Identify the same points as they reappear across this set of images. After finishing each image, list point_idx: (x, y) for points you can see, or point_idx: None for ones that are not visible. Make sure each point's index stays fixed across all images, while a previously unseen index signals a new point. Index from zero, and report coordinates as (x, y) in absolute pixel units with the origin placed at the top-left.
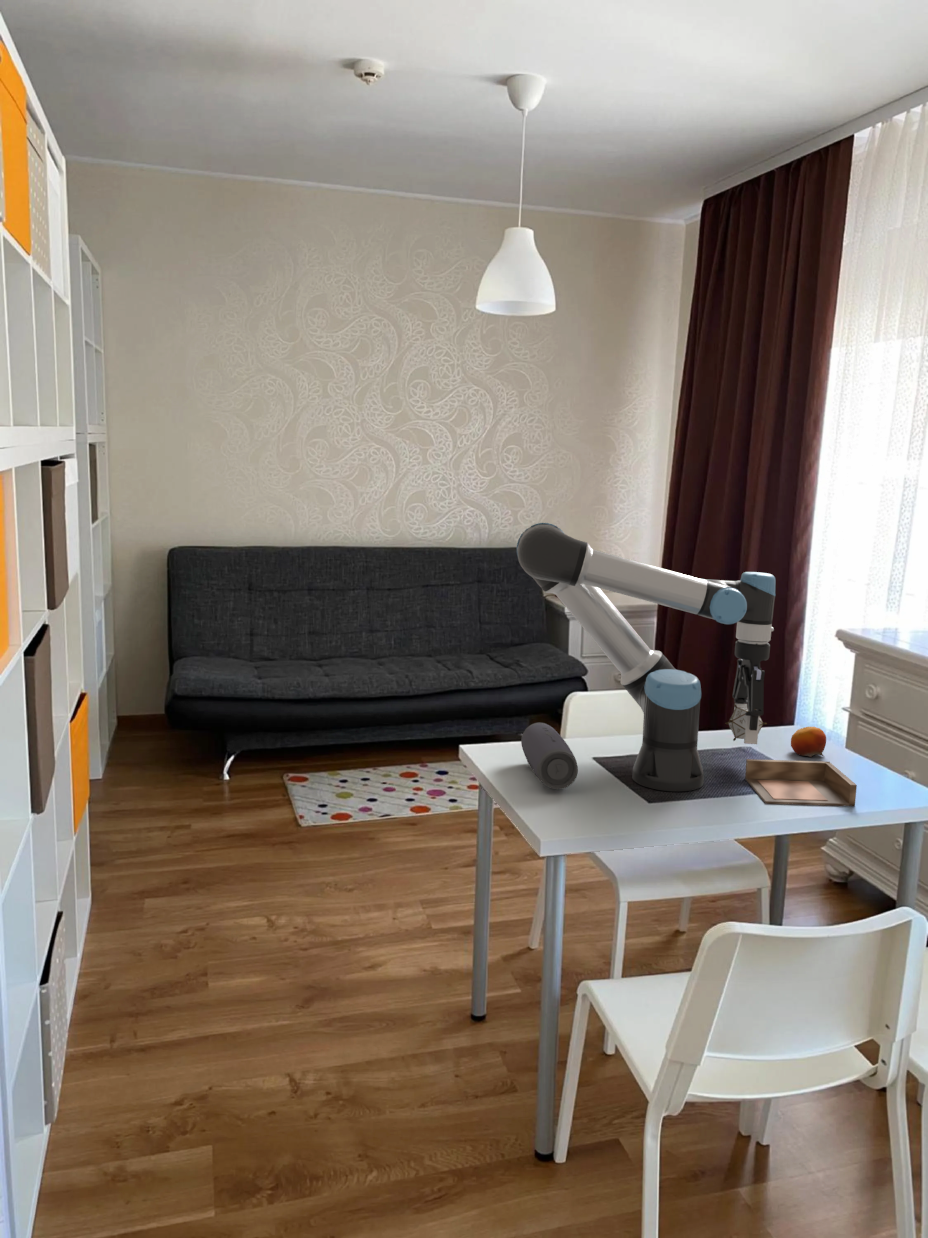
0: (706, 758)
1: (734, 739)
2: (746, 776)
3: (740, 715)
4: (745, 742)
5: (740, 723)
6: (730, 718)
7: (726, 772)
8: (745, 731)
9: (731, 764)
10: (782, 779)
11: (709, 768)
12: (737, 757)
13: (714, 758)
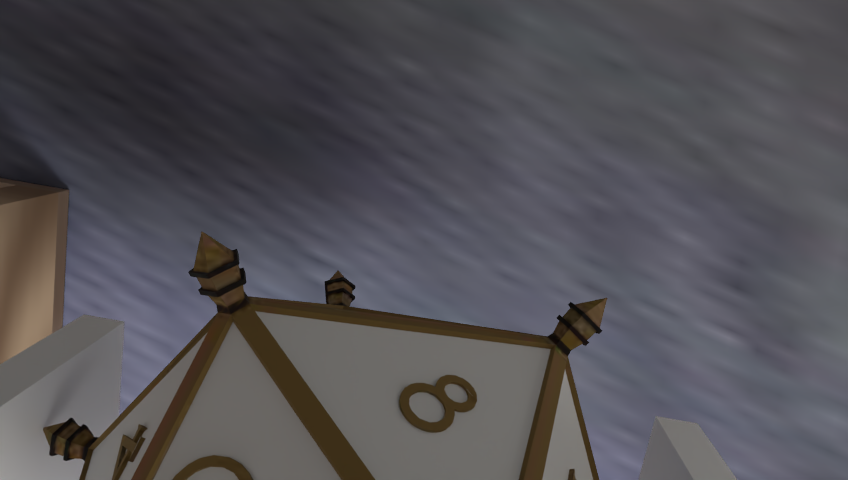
0: (639, 97)
1: (326, 287)
2: (13, 188)
3: None
4: (76, 326)
5: (138, 418)
6: (540, 402)
7: (239, 112)
8: (2, 383)
9: (449, 245)
10: None
11: (350, 6)
12: (632, 375)
13: (629, 170)
